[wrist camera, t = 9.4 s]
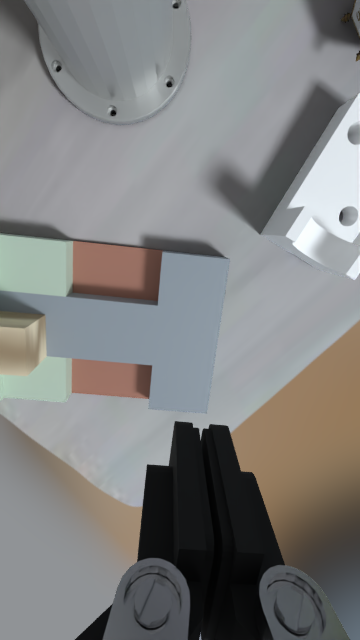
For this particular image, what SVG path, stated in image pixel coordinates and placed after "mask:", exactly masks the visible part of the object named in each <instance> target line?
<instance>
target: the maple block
mask: <svg viewBox="0 0 360 640" xmlns="http://www.w3.org/2000/svg"><path fill="white" fill-rule="evenodd" d="M46 357H47V351H46V316H45V315H43V314H31V313H19V312H7V311H0V374H1V375H15V376H28V375H29V374H30V373H31V372H32V371H33V370H34V369H35V368H36V367H37V366H38V365H39V364H40V363H41V362H42V361H43V360H44V359H45V358H46Z"/></svg>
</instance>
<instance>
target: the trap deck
mask: <svg viewBox="0 0 360 640" xmlns="http://www.w3.org/2000/svg"><path fill="white" fill-rule="evenodd" d="M229 262H230V259H228V258H226V257H219V256H210V255H201V254H191V253H182V252H173V251H164V250H154V249H145V248H136V247H126V246H117V245H108V244H98V243H89V242H80V241H71V240H61V239H52V238H43V237H33V236H24V235H15V234H6V233H0V311H7V312H19V313H31V314H43V315H45V316H46V351H47V357H46V358H45V359H44V360H43V361H42V362H41V363H40V364H39V365H38V366H37V367H36V368H35V369H34V370H33V371H32V372H31V373H30V374H29V375H28V376H15V375H1V374H0V401H1V400H2V399H3V398H16V399H28V400H41V401H54V402H66V401H67V399H68V398H69V396H70V394H71V393H83V394H95V395H107V396H120V397H132V398H145V399H149V408H148V409H155V410H168V411H181V412H193V413H206V414H207V409H208V402H209V396H210V389H211V382H212V376H213V369H214V362H215V356H216V349H217V342H218V336H219V329H220V322H221V316H222V309H223V302H224V296H225V289H226V282H227V276H228V269H229Z"/></svg>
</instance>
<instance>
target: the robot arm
mask: <svg viewBox="0 0 360 640" xmlns="http://www.w3.org/2000/svg"><path fill="white" fill-rule="evenodd" d="M24 1H25V3H26V4H27V6H28V7H29V9H30V10H31V12H32V14H33V15H34V17H35V18H36V20H37V21H38V32H39V42H40V46H41V50H42V54H43V58H44V61H45V63H46V65H47V68H48V70H49V72H50V75H51V76H52V78H53V79H54V81H55V83H56V84H57V86H58V87H59V89H60V90H61V91H62V93H63V94H64V95H65V96H66V98H67V99H68V100H69V101H70V102H71V103H72V104H73V105H75V106H76V107H77V108H78V109H79V110H80V111H82V112H83V113H85V114H86V115H88V116H90V117H91V118H94V119H96V120H99V121H101V122H104V123H109V124H114V125H130V124H134V123H138V122H142V121H144V120H146V119H148V118H150V117H152V116H154V115H156V114H157V113H158V112H159V111H161V110H162V109H163V108H164V107H166V105H167V104H168V103H169V102H170V101H171V99H172V98H173V97H174V96H175V94H176V92H177V91H178V89H179V87H180V85H181V84H182V81H183V78H184V76H185V73H186V70H187V67H188V61H189V55H190V46H191V26H190V17H189V13H188V8H187V3H186V0H24ZM174 7H178V9H174ZM59 68H61V71H60V72H58V69H59ZM168 83H170V84H172V87H170V88H168V87H167V84H168ZM112 112H116V115H115V116H111V113H112ZM200 632H201V639H202V640H350V639H349V637H348V635H347V633H346V632H345V630H344V628H343V626H342V624H341V622H340V621H339V619H338V617H337V615H336V613H335V611H334V610H333V608H332V606H331V604H330V602H329V600H328V598H327V597H326V595H325V594H324V593H323V591H322V590H321V588H320V587H319V586H318V585H317V584H316V583H315V582H314V581H313V580H312V579H311V578H310V577H309V576H308V575H306V574H305V573H303V572H302V571H300V570H299V569H296V568H293V567H290V566H285V564H284V561H283V558H282V555H281V552H280V549H279V546H278V543H277V540H276V538H275V534H274V531H273V528H272V525H271V522H270V519H269V516H268V513H267V510H266V507H265V505H264V501H263V498H262V495H261V493H260V490H259V487H258V484H257V481H256V478H255V476H254V474H253V473H252V472H241V470H240V466H239V463H238V459H237V456H236V452H235V449H234V446H233V442H232V438H231V435H230V431H229V428H228V426H225V425H213V424H210V425H209V429H203V431H202V437H201V441H200V433H199V428H193V424H192V423H189V422H177V421H175V424H174V431H173V438H172V446H171V453H170V461H169V466H161V465H147V470H146V480H145V489H144V499H143V509H142V519H141V529H140V539H139V549H138V559H137V563H135V564H134V565H132V566H131V567H130V568H129V569H128V570H127V571H126V573H125V574H124V575H123V576H122V578H121V581H120V583H119V585H118V588H117V591H116V594H115V598H114V601H113V604H112V605H111V606H110V607H109V608H108V609H107V610H106V611H105V612H103V613H102V614H101V615H100V616H99V617H98V618H97V619H96V620H95V621H94V622H93V623H92V624H91V625H90V626H89V627H88V628H87V629H86V630H85V631H83V633H81V634H80V635H79V636H78V637H77V638H76V639H75V640H199V637H200Z"/></svg>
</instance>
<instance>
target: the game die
mask: <svg viewBox="0 0 360 640" xmlns="http://www.w3.org/2000/svg"><path fill="white" fill-rule="evenodd" d="M351 18H352V20H353V23H354V26H355V28H356V31H357V33H358V36H359V39H360V0H355V2H354V6H353V9H352V13H351V14H350V13H347V14H344V17H343V18H342V19H341V21H343V22H345V23H346V21H349V20H350V19H351ZM356 55H357V57H356V61H358V60H360V51H359V53H358V54H356Z"/></svg>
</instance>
